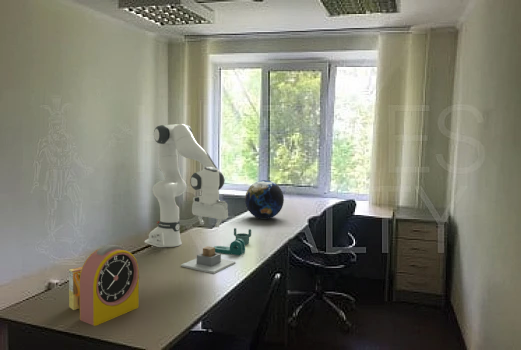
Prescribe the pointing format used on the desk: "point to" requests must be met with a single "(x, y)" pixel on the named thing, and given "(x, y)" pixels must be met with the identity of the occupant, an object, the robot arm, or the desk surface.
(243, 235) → the bracket
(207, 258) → the well
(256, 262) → the desk surface
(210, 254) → the walnut block
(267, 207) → the globe
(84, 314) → the alarm clock
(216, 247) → the bracket
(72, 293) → the candy box
